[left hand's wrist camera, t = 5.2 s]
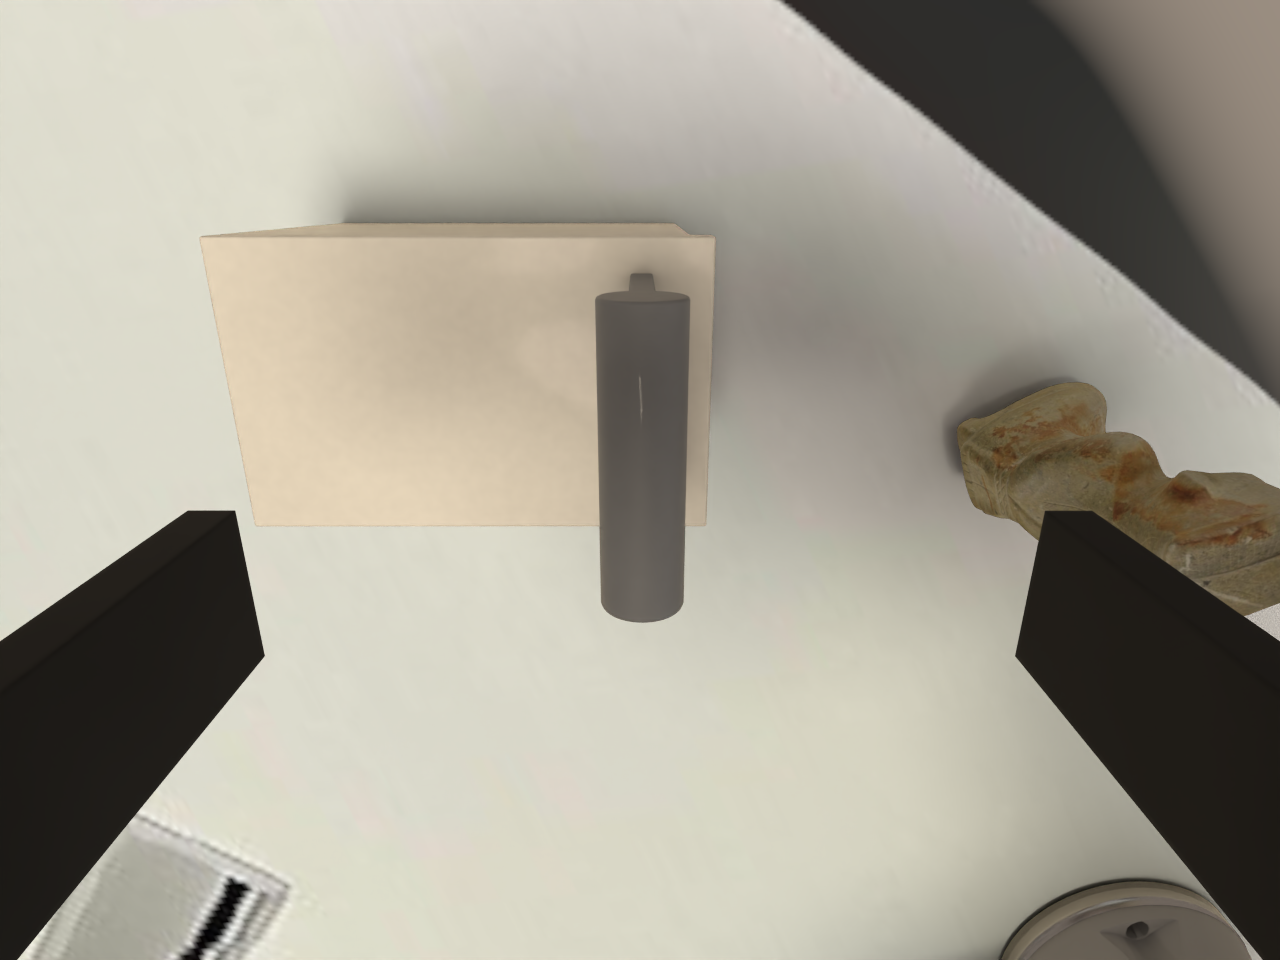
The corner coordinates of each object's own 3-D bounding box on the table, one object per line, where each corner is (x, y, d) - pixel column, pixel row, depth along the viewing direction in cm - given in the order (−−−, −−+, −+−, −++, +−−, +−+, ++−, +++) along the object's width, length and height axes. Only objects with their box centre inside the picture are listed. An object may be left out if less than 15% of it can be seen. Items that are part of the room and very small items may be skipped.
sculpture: (1093, 468, 38) (1358, 627, 24) (950, 506, 39) (1126, 682, 25) (1082, 358, 36) (1364, 461, 22) (932, 400, 37) (1112, 527, 23)
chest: (675, 223, 34) (690, 234, 24) (672, 429, 38) (684, 514, 27) (341, 223, 34) (216, 234, 24) (368, 428, 38) (268, 515, 27)
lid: (713, 234, 24) (752, 256, 16) (704, 515, 27) (732, 656, 19) (215, 234, 24) (-13, 255, 16) (268, 515, 27) (104, 656, 19)
